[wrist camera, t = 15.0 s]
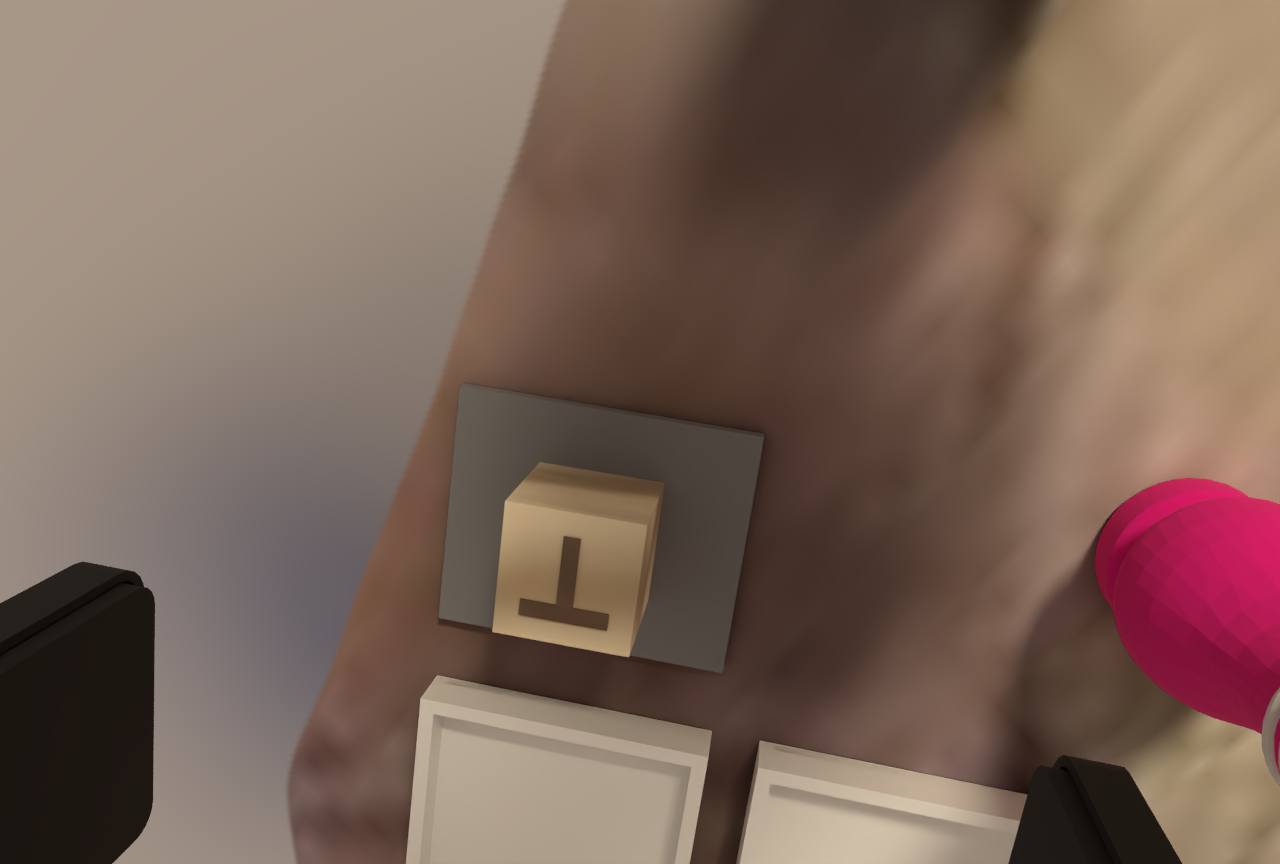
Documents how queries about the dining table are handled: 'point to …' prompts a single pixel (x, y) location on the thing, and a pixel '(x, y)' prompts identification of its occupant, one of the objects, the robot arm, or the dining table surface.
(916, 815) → the tray
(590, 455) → the pad
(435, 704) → the tray
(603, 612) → the letter cube
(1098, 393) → the dining table surface
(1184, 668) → the pepper mill
